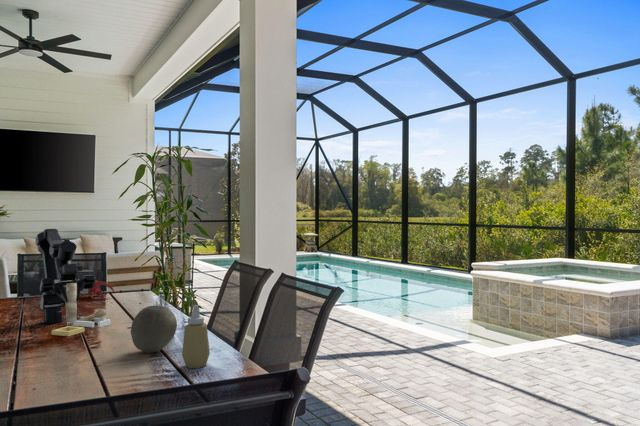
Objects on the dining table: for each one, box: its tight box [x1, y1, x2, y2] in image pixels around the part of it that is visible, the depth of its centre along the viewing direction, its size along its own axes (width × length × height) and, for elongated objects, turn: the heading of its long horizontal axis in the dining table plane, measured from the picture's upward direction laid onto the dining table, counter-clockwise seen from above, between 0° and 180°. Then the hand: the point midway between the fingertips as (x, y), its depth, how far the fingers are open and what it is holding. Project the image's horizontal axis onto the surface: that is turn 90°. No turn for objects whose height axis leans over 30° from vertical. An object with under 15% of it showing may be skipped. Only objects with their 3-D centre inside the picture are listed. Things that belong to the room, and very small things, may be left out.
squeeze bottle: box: [181, 304, 211, 369], centre depth 152 cm, size 8×8×18 cm
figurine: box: [67, 308, 107, 326], centre depth 212 cm, size 4×4×15 cm
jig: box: [51, 316, 111, 337], centre depth 204 cm, size 16×23×2 cm
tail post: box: [65, 283, 78, 323], centre depth 192 cm, size 4×4×14 cm
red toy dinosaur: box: [85, 280, 115, 299], centre depth 282 cm, size 28×9×15 cm
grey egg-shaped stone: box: [130, 305, 178, 354], centre depth 169 cm, size 14×14×15 cm
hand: (72, 301), depth 191 cm, fingers closed on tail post, 4 cm apart
